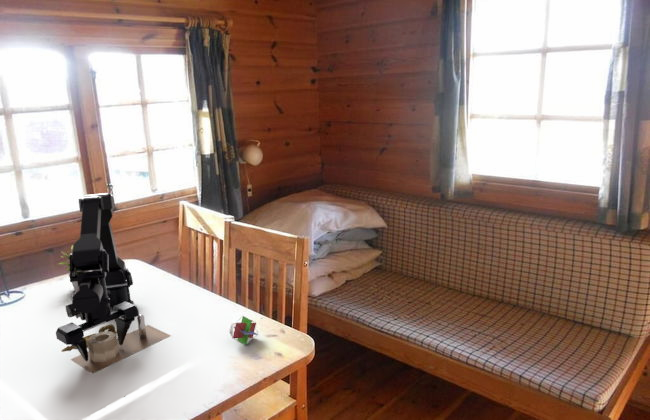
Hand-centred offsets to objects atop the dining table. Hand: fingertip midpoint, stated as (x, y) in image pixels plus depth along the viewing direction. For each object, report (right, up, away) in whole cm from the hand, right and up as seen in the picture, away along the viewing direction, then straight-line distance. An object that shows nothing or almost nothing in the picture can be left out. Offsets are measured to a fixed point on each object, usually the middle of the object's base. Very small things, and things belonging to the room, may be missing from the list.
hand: (104, 352), depth 126 cm
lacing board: (+3, -1, +4) cm, 5 cm away
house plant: (-27, +8, +45) cm, 54 cm away
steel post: (+7, +2, +8) cm, 11 cm away
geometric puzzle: (+35, +1, +7) cm, 36 cm away
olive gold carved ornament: (-7, -1, +8) cm, 11 cm away
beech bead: (0, -1, 0) cm, 1 cm away
